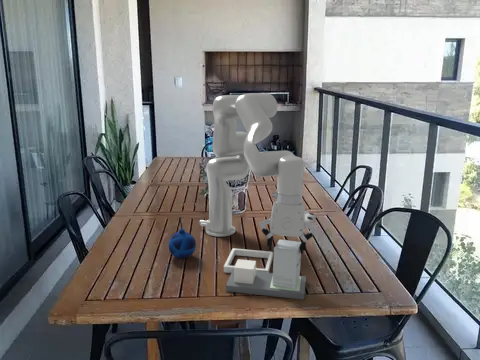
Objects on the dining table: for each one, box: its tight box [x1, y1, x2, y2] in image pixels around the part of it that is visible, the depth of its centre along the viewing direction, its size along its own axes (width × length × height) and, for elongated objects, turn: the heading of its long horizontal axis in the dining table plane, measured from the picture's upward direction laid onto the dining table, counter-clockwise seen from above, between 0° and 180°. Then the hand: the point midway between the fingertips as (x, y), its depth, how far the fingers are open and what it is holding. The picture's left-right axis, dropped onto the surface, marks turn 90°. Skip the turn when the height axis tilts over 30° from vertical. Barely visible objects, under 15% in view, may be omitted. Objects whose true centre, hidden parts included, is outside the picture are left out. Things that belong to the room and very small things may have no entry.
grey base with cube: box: [225, 258, 307, 300], centre depth 134 cm, size 24×11×7 cm, turn 79°
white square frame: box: [223, 247, 274, 274], centre depth 149 cm, size 15×15×2 cm
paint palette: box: [305, 209, 317, 224], centre depth 197 cm, size 20×20×2 cm
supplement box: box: [272, 239, 302, 289], centre depth 131 cm, size 7×7×13 cm
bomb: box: [167, 216, 197, 260], centre depth 153 cm, size 10×11×15 cm
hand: (286, 250), depth 131 cm, fingers open, 9 cm apart
